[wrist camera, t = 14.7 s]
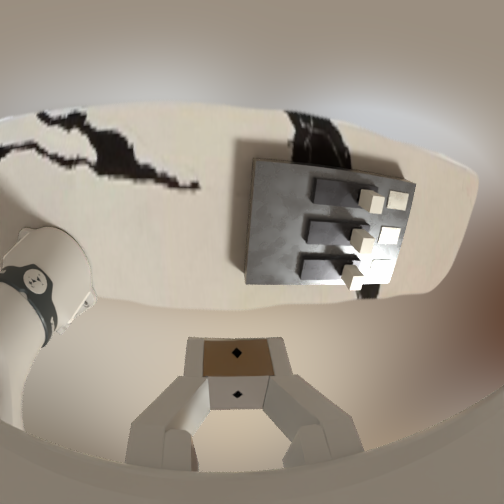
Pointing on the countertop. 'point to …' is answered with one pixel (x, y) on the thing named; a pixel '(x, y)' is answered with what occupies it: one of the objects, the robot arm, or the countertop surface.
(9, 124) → the countertop surface
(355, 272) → the white short rectangular block
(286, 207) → the breaker panel
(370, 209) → the block
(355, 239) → the block
